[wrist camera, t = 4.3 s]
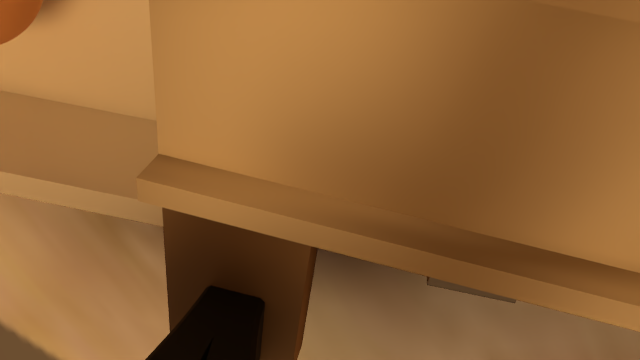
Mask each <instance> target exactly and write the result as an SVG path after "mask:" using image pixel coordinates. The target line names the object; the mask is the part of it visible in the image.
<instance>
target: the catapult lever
mask: <svg viewBox="0 0 640 360" xmlns="http://www.w3.org/2000/svg"><path fill="white" fill-rule="evenodd" d="M149 11H150V27H151V43H152V58H153V74H154V89H155V105H156V121H157V136H158V152H159V154H158V155H157V156H156V157H155V158H154V159H153V160H152V161H151V162H150V163H149V165H148V166H147V167H146V168H145V169H144V170H143V171H142V172H141V173H140V174H139V175H138V176H137V177H136V183H137V194H138V201H140V202H144V203H148V204H151V205H155V206H159V207H162V214H163V230H164V245H165V261H166V277H167V292H168V308H169V323H170V332H171V331H172V330H173V329H174V327H175V326H176V325H177V324H178V323H179V322H180V320H181V319H182V318H183V317H184V316H185V314H186V313H187V312H188V311H189V309H190V308H191V307H192V306H193V304H194V303H195V302H196V301H197V299H198V298H199V297H200V295H201V294H202V293H203V291H204V290H205V288H207V287H209V286H211V285H212V286H216V287H220V288H224V289H227V290H231V291H235V292H239V293H243V294H247V295H251V296H255V297H259V298H261V299H262V300H263V301H264V302H265V311H264V321H263V332H262V343H261V354H260V360H297V358H298V355H299V352H300V349H301V346H302V340H303V334H304V328H305V322H306V316H307V310H308V304H309V298H310V292H311V286H312V280H313V273H314V267H315V261H316V255H317V249H318V248H320V249H324V250H328V251H332V252H335V253H339V254H343V255H347V256H351V257H355V258H358V259H362V260H366V261H370V262H374V263H378V264H381V265H385V266H389V267H393V268H397V269H401V270H404V271H408V272H412V273H416V274H420V275H424V276H427V277H431V278H435V279H439V280H443V281H447V282H450V283H454V284H458V285H462V286H466V287H470V288H473V289H477V290H481V291H485V292H489V293H493V294H496V295H500V296H504V297H508V298H512V299H516V300H519V301H523V302H527V303H531V304H535V305H539V306H542V307H546V308H550V309H554V310H558V311H562V312H565V313H569V314H573V315H577V316H581V317H585V318H588V319H592V320H596V321H600V322H604V323H608V324H611V325H615V326H619V327H623V328H627V329H631V330H634V331H638V332H640V0H149Z"/></svg>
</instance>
